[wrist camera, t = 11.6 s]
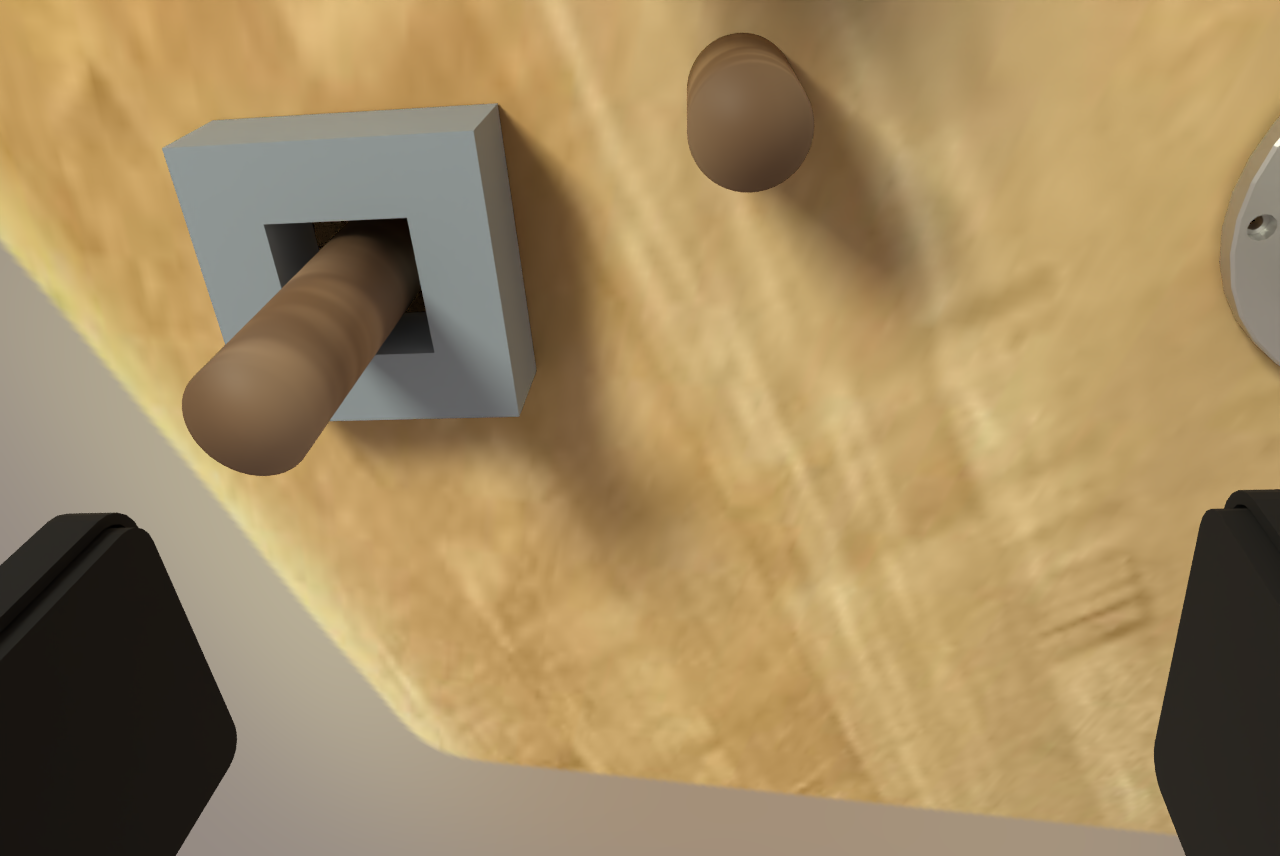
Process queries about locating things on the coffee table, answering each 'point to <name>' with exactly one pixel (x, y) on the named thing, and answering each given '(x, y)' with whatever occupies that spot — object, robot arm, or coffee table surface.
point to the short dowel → (747, 114)
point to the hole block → (362, 190)
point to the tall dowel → (303, 350)
